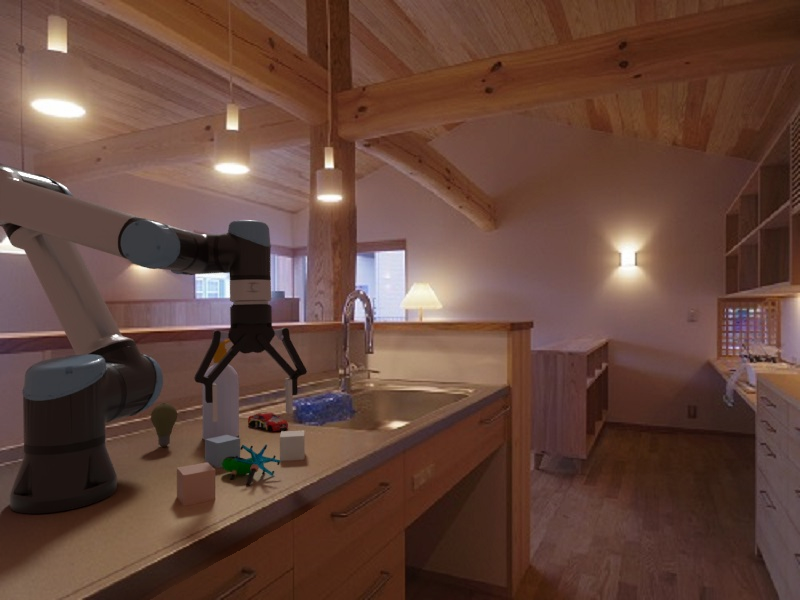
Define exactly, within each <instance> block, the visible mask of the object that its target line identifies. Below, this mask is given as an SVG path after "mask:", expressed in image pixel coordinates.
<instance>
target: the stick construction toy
mask: <svg viewBox="0 0 800 600" xmlns="http://www.w3.org/2000/svg"><path fill="white" fill-rule="evenodd" d="M253 447H254V446H253V445H250V447H247V446H246V445H245V444H242V445H240V451H242V450H245V451H247V453H249V454H250V456H251V457H248V458H243V457H240V458H239V457H238V456H236V457H233V456H230V457H226V458H225V459H224V460H223V462H222V467H221V468H222V469H224V470H225V471H227V472H229V473H230V477H229V479H230V480H231V481H232V480H234V478H235V477H236V475H248V478H247V481H246V483H245V486H248V487H250V486H251V484H252V482H253V479H254V476H255V474H256V473H257V472H258V471H259V469H260V470H262V473H261V474H262V475H265V473H266V474H267V475H269V476H271V477H273V476H274V474H275V471H274V470H272V471H271V470H269V469H268V468H267V467H266V466H265V465H264V464H268V463H270V462H271V463H273V462H274V463H276V465H277V466H279V465H280V463H281V461H280V459H277V458H276V457H277V456H276V455H273V457H268V456H264V453H265V452H266V450H267V448H268V444H265V445H264V446H263V447H262V448H261V450H260V451H259V452H258V453H256V452H255V451H253Z"/></svg>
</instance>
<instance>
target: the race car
mask: <svg viewBox="0 0 800 600" xmlns="http://www.w3.org/2000/svg"><path fill="white" fill-rule="evenodd" d="M247 425H248V426H249V427H250V428H252V429H253V428H256V429H259V430H264V431H268V432H270V433H272V432H278V431H279V432H280V431H284V430H287V429H288V428H289V423H288V421H287V420H285V419H282V418H281V416H280V415H277V414H275V413H273V412H269V411H265V412H258V413H254V414H251V415H249V416H248V419H247Z"/></svg>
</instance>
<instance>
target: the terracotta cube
mask: <svg viewBox="0 0 800 600" xmlns="http://www.w3.org/2000/svg"><path fill="white" fill-rule="evenodd" d="M176 498H177V499H178V500H179V502H180V503H181V505H182V506H183V507H185V506H191V505H195V504H201V503H205V502H209V501H214V500H216V468H215V467H213V466H211V465H210V464H209V463H208V462H207V463H205V462H201V463H196V464H190V465H189V464H188V465H184V466H179V467H176Z"/></svg>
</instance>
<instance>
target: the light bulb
mask: <svg viewBox="0 0 800 600" xmlns="http://www.w3.org/2000/svg"><path fill="white" fill-rule="evenodd" d="M177 419H178V410H177V409H176V407H175V406H174V405H173V404H172V403H168V402H162V403H159V404H157V405H156V406H155V407H154V408H153V409H152V411H151V413H150V420H151V423H152V426H153V427H154V429H155V432H156V435H157V438H158V443H157V444H158V445H159V446H160V447H162V448H166V447H168V445H169V444H171V443H170V442H171V438H170V437H171V434H172V433H173V428H174V426H175V424H176V422H177Z"/></svg>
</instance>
